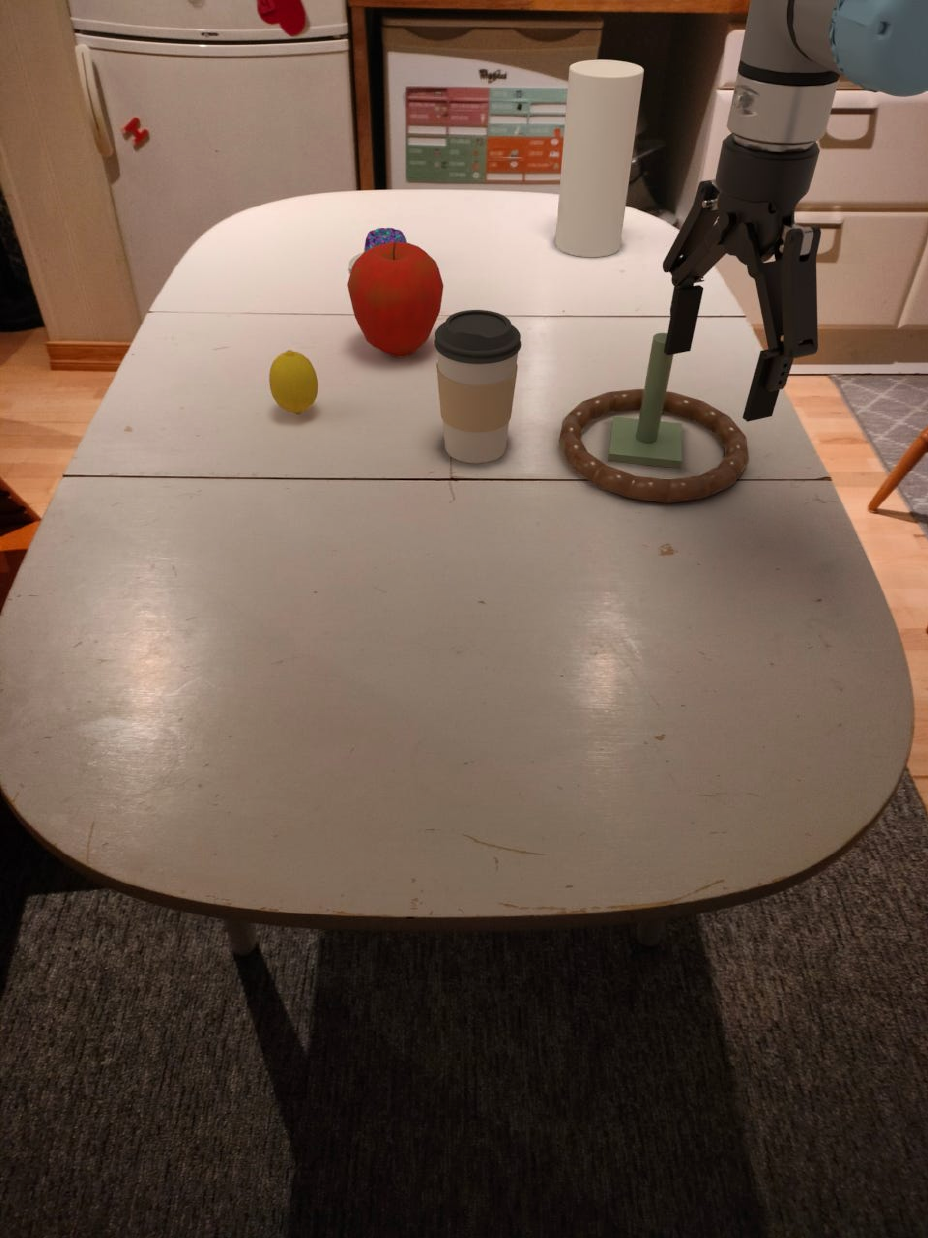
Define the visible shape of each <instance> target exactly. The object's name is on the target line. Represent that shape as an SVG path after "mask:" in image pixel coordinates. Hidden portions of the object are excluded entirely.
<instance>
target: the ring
mask: <svg viewBox="0 0 928 1238" xmlns="http://www.w3.org/2000/svg"><path fill="white" fill-rule="evenodd" d="M643 392H644V388H633V389H623V390H613V391H608V392H607V391H606V392H604V393H602V394H599V395H596V396H593V397H591V398H588V399H585V400H583V401H581V402H580V403H579V404H578V405H577V406H575V407H574V408H573V409H572V410H571V411H570V412H569V413H568V414H566V416H564V418H563V420H562V421H561V427H560V432H559V437H558V446H559V448H560V450H561V452H562V454H563V456H564V458H565V459H566V461H567V463H568V465H569V467H570V468H571V469H572V470H573V471H575V472H576V473H577V474H579V475H580V476H581V477H583V478H584V479H586V481H589V482H590V483H591V484H593V485H594V486H595V487H597V488H600V489H603V490H606V491H608V492H611V493H614V494H617V495H619V496H622V497H625V498H627V499H633V500H639V501H640V500H641V501H650V502H656V503H657V502H659V503H666V504H667V503H676V502H677V503H678V502H686V501H693V500H701V499H705V498H708V497H710V496H712V495H714V494H717V493H718V492H720V491H722V490H725V489H727V488H729V487H731V486H732V485H734V484H735V482H737V480H738V478H739V477H740V476H741V474H742V473H743V471H744V470H745V469H746V467H747V466H748V464H749V461H750V460H749V459H750V457H749V449H748V439H747V436H746V435H745V433H744V432H743V431H742V430H741V429H740V427H739V426H738V425H737V423H736V422H735V421H734V420H733V418H731V416H730V415H728V414H726V413H725V412H723V411H721V410H720V409H718V408H716V407H714V406H712V405H711V404H709V403H707V402H705V401H704V400H700V399H698V398H694V397H691V396H689V395H688V396H687V395H685V394H681V393H678V392H674V391H669V390H667V391H666V396H665V401H664V406H663V411H662V413H668V414H672V415H675V416H678V417H681V418H685V419H686V420H687V419H688V420H691V421H694V422H696V423H697V424H699V425H700V426H702V427H704V428H705V429H707V430H709V431H711V432H712V433H714V434H715V436H716V438H718V440H719V441H720V442H721V444H722V445H723V446H724V454H725V455H724V456H725V457H724V458H723V459H722V461H721V462H720V463H719V465H718V466H716V467H714V468H712V469H709V470H707V471H705V472H703V473H701V474H698V475H694V476H692V475H691V476H684V477H677V478H659V477H650V476H643V475H635V474H632V473H629V472H626V471H623V470H621V469H618V468H615V467H613V466H609V465H607V464H605V463H604V462H603V461H601V460H600V459H598V458H597V457H596V456H594V455H593V454H591V453H590V452H589V451H588V450H587V448H586V446H585V444H584V442H583V440H582V434H583V430H584V429H585V428H586V427H587V426H588V425H589V424H590V423H591V422H592V421H593V420H595V419H596V420H597V419H598V418H601V417H603V416H606V415H609V414H612V413H619V412H627V411H636V410H637V411H638V410H640V409H641V404H642V398H643Z"/></svg>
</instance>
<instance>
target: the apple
mask: <svg viewBox="0 0 928 1238" xmlns="http://www.w3.org/2000/svg"><path fill="white" fill-rule="evenodd" d="M363 252H364V251H363ZM363 252H362V253H363ZM346 285H347V291H348V294H349V299H350V303H351V308H352V313H353V316H354V319H355V321H356V323H357V324H358V327H359V329H360V330H361V332H362V334H363V336H364V339H365V340H366V342H367V343H368V344H370V345H371V346H372V347H373V348H375V349H377V350H378V351H380V352H382V353H384V354H386V355H389V356H392V357H396V358H403V357H408V356H411V355H413V354H414V353H416V351H418V350H419V349H420V348H421V347H422V346H423V345H424V344H426V342H427V341H428V339H429V338H430V336H431V333H432V331H433V329H434V326H435V324H436V322H437V320H438V317H439V315H440V313H441V308H442V300H443V294H444V293H443V292H444V282H443V279H442V276H441V271H440V269H439V266H438V263H437V261H435V259H434V258H433V257H431V255H430V254H428V253H427V252H426V251H425V250H424V249H423V248H421V247H420V246H418V245H416V244H412V243H410V242H407V243H405V242H391V243H385V244H381V245H378V246H375V247H373V248H371V249H369V250H367V251H365V252H364V253H363V254H362V255H361V256H360V257H359V258H358V259H357V260H356V261H355V263H354V264H353V266H352V268H351V270H350V272H349V276H348V280H347V284H346Z"/></svg>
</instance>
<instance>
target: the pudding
mask: <svg viewBox="0 0 928 1238" xmlns="http://www.w3.org/2000/svg"><path fill="white" fill-rule="evenodd" d="M391 242H405V243H408V241H407V238H406V236H405V234H404V232H403V231H402V230H400V229H395V228H393V227H385V228H384V227H380V228H376V229H373V230H370V231H369V232H368V233H367V235H366V237H365V240H364V248H363V252H361V253H358V254H356V255H354V256H353V257H352V258H351V259H349V261H348V264H347V265H348V268H349V269H350V271H351V268H352V266H353V264H354V263H355V261H356V260H357V259H358V258H359V257H360V256H361V255H362V254H363V253H364V252H365V251H367V250H369V249H371V248H373V247H375V246H378V245H381V244H385V243H391Z"/></svg>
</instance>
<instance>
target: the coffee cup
mask: <svg viewBox="0 0 928 1238" xmlns="http://www.w3.org/2000/svg"><path fill="white" fill-rule="evenodd" d="M521 339H522V335H521V332H520V331H519V329H518V327H516V326H515V325H514V324H512V322H511V320H510V319H509V318H508V317H507V316H506V315H503V314H501V313H498V312H496V311H492V310H486V309H467V310H466V309H465V310H461V311H458V312H455V313H453V314H450V315H449V316H448V317H447V318H446V319H445V321H444V322H442V323H441V324H439V326H438V327H437V328H436V329H435V331H434V340H433V341H434V342H433V346H434V348H435V350H436V359H437V360H436V361H437V362H436V377H437V387H438V399H439V408H440V409H439V410H440V411H439V412H440V416H441V417H440V418H441V420H442V426H443V437H444V449H445V451H446V453H447V455H448V456H450V457H451V458H453V459H455V460H457V461H459V462H462V463H467V464H487V463H490V462H493V461H496V460H497V459H499V458H501V457H502V456H503V455H504V454H505V452H506V449H507V441H508V433H509V426H510V421H511V419H512V414H513V413H512V412H513V407H514V406H513V405H514V399H515V398H514V397H515V390H516V384H517V383H516V382H517V377H518V369H519V368H518V359H519V352H520V350H521V348H522V341H521Z"/></svg>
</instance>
